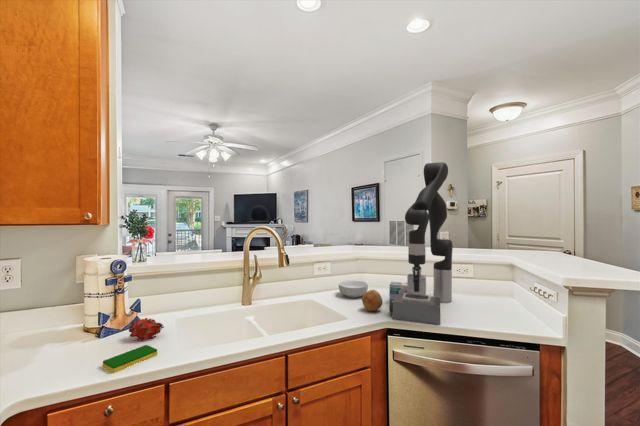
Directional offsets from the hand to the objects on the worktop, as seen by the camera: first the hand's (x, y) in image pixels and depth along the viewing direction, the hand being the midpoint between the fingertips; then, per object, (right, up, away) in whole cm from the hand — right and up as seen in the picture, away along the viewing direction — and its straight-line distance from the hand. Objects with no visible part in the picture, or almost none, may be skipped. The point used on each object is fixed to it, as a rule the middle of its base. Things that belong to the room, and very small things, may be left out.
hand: (416, 289), depth 141 cm
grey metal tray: (0, -12, 0) cm, 12 cm away
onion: (-19, -13, +9) cm, 25 cm away
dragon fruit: (-112, -13, -23) cm, 115 cm away
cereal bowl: (-26, -12, +35) cm, 45 cm away
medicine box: (0, -2, 0) cm, 2 cm away
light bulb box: (-2, -13, +20) cm, 24 cm away
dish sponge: (-107, -14, -41) cm, 115 cm away
